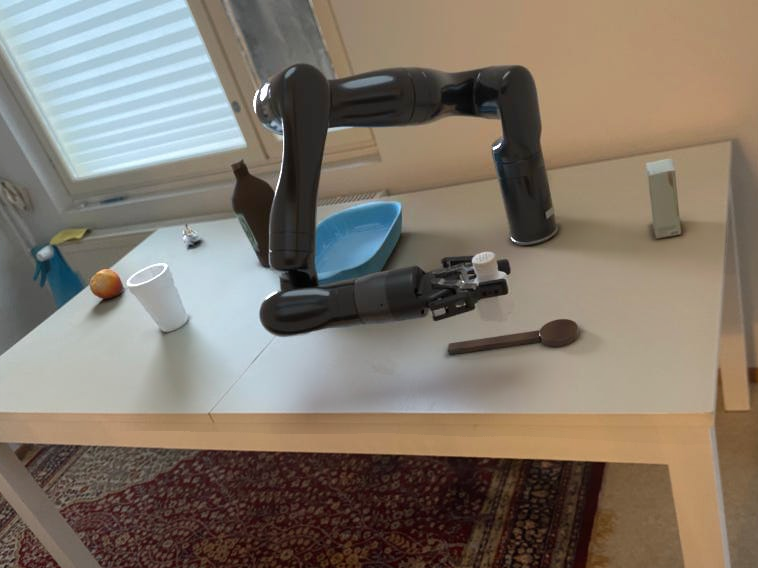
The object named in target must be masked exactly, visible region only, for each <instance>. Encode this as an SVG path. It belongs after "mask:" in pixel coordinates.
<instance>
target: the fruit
mask: <svg viewBox="0 0 758 568" xmlns="http://www.w3.org/2000/svg"><path fill="white" fill-rule="evenodd" d="M89 289H90V291H91V293H92V294H93V295H94V296H95V297H97V298H100V299H103V300H106V299H107V300H108V299H111V298H115V297H118V296H119V295H120V294H121V293H122V292H123V290H124V289H125V287H124V284H123V282H122V280H121V277H120V275H119V274H118V273H117V272H116V271H115V270H113V269H111V268H104V269H101V270H99V271H98V272H96V273H95V274H94V275H93V276H92V278H91V279H90V282H89Z"/></svg>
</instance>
